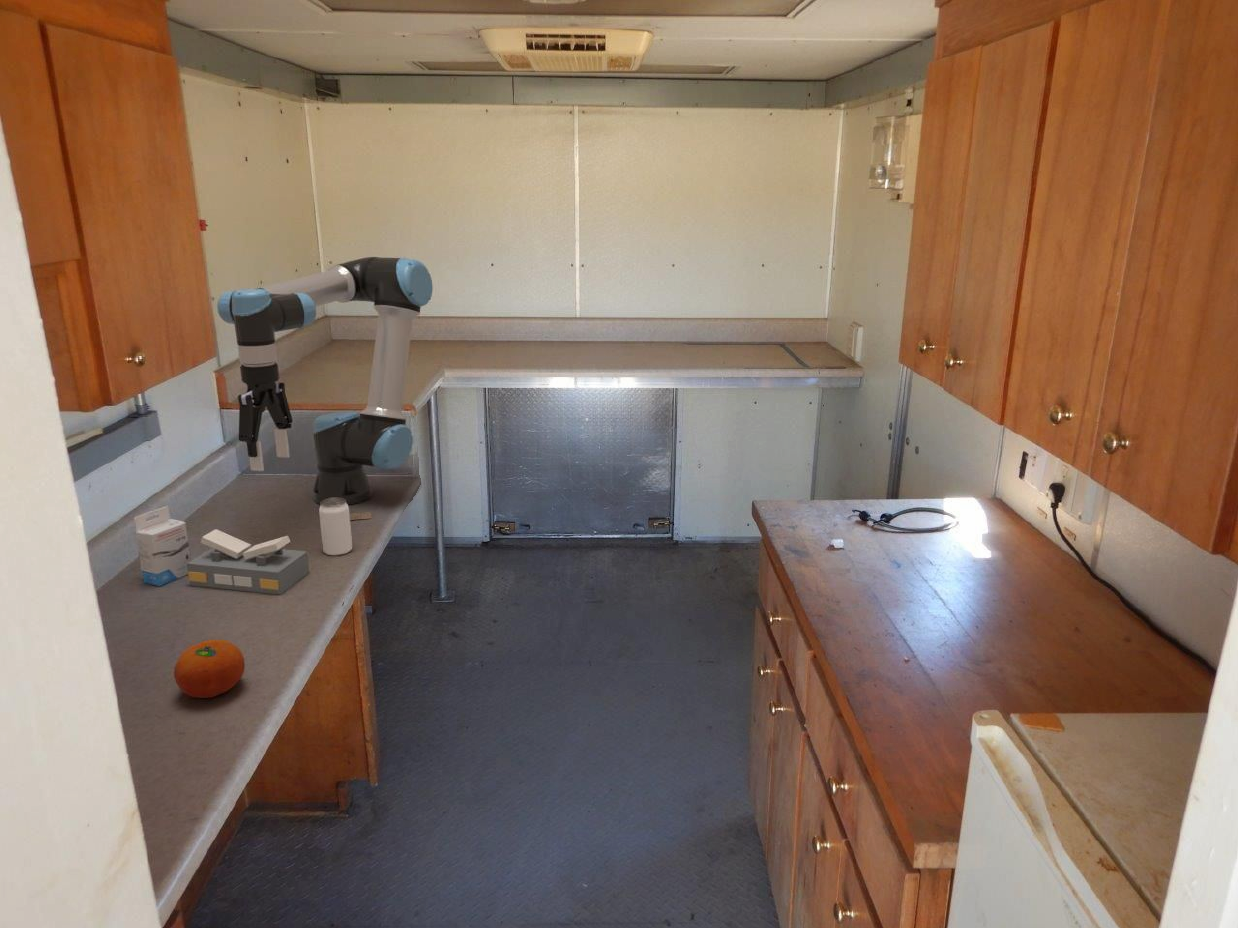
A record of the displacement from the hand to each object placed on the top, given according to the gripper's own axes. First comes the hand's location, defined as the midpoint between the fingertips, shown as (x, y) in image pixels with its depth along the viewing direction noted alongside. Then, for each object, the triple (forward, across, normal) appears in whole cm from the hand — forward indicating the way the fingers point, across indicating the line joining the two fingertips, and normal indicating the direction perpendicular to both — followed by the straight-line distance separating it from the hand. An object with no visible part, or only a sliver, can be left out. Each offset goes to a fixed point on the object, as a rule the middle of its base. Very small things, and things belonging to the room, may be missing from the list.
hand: (270, 463), depth 193 cm
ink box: (+22, +17, -16) cm, 32 cm away
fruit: (+22, +54, +21) cm, 62 cm away
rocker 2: (+15, +14, +7) cm, 22 cm away
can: (+22, -4, +12) cm, 25 cm away
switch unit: (+21, +14, +1) cm, 26 cm away
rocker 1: (+15, +14, -4) cm, 21 cm away
